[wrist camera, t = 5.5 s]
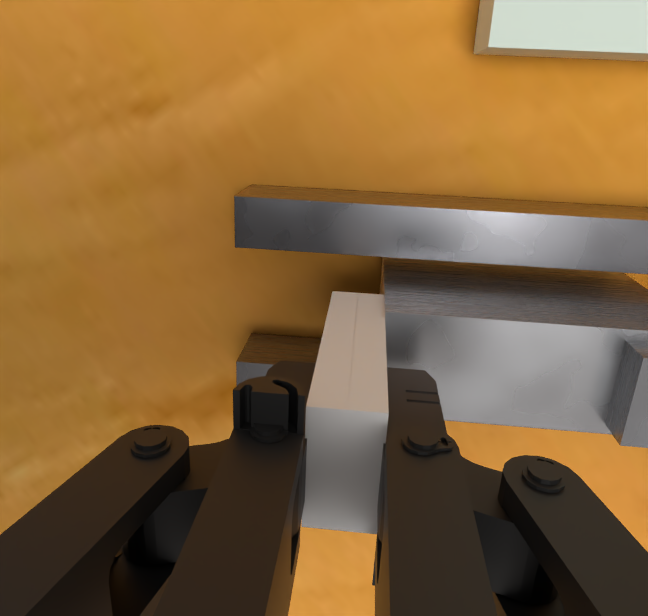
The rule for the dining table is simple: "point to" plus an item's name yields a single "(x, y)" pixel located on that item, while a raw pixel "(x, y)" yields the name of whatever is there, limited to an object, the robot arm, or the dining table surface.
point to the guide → (429, 239)
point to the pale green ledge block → (564, 29)
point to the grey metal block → (523, 343)
